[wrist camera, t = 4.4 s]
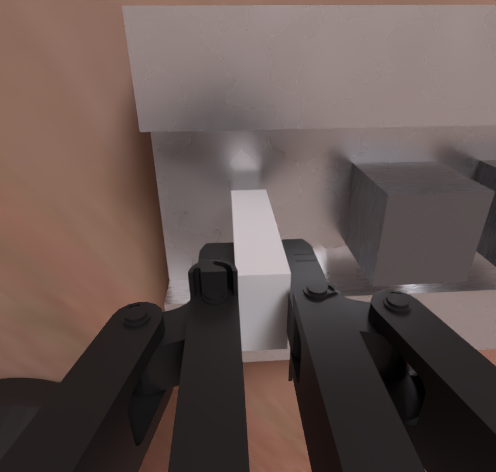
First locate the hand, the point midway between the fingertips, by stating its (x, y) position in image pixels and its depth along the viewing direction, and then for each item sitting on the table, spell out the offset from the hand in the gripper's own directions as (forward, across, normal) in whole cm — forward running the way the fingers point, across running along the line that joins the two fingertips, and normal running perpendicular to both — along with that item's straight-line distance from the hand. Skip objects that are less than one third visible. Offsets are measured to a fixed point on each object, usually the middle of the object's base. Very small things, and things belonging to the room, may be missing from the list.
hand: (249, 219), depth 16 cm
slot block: (+6, -7, 0) cm, 9 cm away
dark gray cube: (+2, -7, 0) cm, 7 cm away
